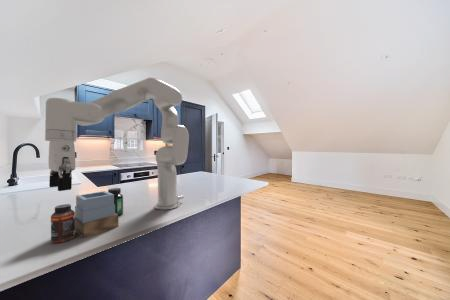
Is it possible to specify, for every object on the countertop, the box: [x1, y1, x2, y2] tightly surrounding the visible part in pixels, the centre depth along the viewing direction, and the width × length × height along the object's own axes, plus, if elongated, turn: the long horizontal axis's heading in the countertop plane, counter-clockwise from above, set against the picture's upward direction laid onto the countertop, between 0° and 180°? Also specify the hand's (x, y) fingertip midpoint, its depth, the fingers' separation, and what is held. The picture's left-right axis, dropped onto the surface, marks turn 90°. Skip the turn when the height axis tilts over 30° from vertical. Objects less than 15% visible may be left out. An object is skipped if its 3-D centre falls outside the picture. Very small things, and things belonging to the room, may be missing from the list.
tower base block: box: [75, 213, 119, 239], centre depth 68 cm, size 11×11×5 cm
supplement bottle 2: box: [107, 187, 124, 218], centre depth 81 cm, size 7×7×12 cm
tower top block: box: [74, 190, 115, 223], centre depth 68 cm, size 10×10×8 cm
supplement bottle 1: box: [50, 203, 76, 244], centre depth 59 cm, size 6×6×11 cm
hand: (60, 188), depth 58 cm, fingers open, 9 cm apart
